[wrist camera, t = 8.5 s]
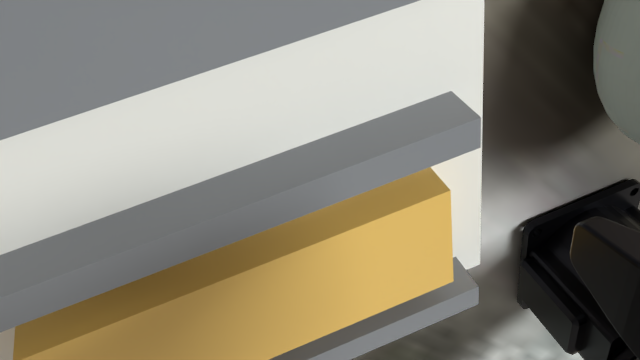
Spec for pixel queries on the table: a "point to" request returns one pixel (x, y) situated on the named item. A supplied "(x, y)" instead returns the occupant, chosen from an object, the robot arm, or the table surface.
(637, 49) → the air freshener
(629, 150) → the table surface
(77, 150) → the breaker box
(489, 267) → the table surface
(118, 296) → the yellow rectangular block
